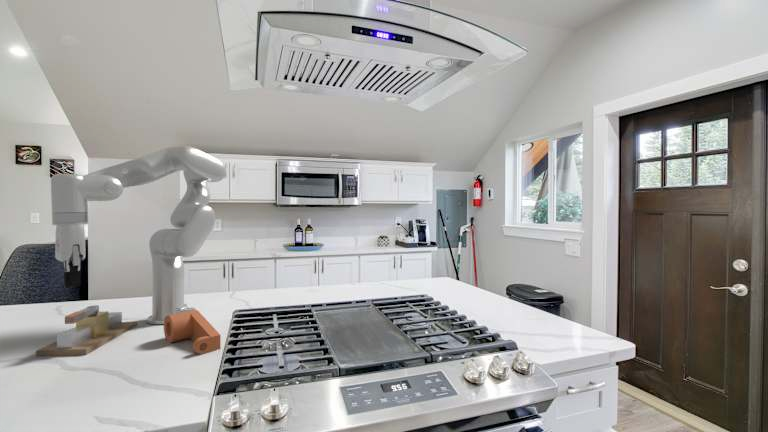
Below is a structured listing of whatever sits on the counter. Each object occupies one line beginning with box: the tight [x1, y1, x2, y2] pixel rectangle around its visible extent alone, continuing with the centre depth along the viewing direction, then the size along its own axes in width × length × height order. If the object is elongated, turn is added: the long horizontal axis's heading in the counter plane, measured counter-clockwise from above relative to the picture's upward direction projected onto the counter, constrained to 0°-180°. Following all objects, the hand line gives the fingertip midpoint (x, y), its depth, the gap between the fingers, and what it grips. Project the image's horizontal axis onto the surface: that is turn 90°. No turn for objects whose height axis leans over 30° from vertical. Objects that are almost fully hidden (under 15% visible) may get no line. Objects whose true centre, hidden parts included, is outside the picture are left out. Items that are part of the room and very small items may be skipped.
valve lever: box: [64, 304, 100, 325], centre depth 102 cm, size 12×3×2 cm, turn 13°
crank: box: [163, 309, 221, 355], centre depth 105 cm, size 20×8×8 cm, turn 49°
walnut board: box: [35, 321, 138, 357], centre depth 107 cm, size 24×12×2 cm, turn 7°
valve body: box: [56, 310, 123, 349], centre depth 107 cm, size 22×5×6 cm, turn 7°
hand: (72, 285), depth 100 cm, fingers closed
